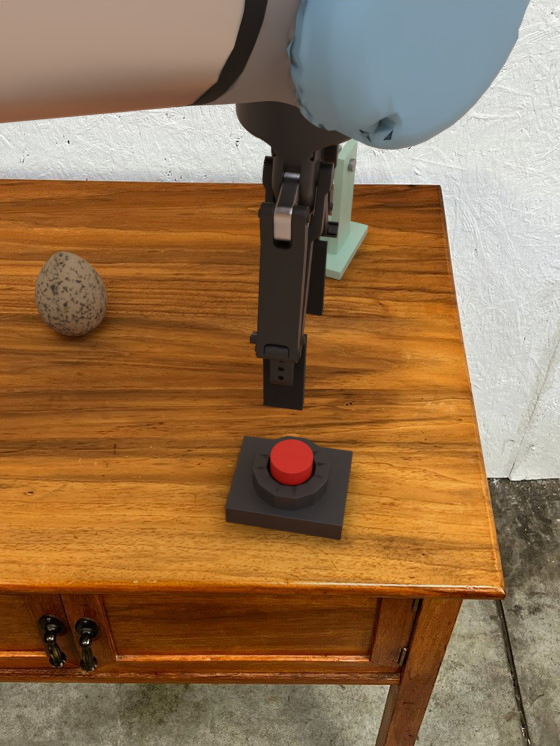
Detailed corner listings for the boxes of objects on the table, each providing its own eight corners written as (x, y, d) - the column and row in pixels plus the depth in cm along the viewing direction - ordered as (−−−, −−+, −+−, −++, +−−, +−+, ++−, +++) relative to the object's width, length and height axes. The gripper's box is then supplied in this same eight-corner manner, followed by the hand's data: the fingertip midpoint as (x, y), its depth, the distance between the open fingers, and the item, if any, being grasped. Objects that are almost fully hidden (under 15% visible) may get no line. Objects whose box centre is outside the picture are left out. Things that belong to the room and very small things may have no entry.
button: (266, 482, 66) (266, 469, 64) (274, 449, 68) (274, 436, 67) (308, 488, 65) (309, 476, 64) (314, 455, 68) (315, 442, 66)
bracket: (339, 280, 90) (348, 176, 80) (276, 262, 92) (277, 159, 82) (367, 233, 96) (379, 131, 86) (307, 217, 98) (312, 116, 88)
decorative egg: (58, 360, 80) (38, 286, 73) (35, 320, 84) (13, 246, 77) (123, 335, 83) (109, 261, 76) (97, 298, 87) (81, 224, 80)
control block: (225, 522, 67) (223, 495, 64) (244, 450, 72) (243, 422, 70) (340, 540, 66) (343, 513, 63) (351, 465, 71) (354, 438, 68)
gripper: (355, 167, 32) (326, 482, 49) (393, -23, 47) (361, 268, 64) (181, 149, 33) (209, 465, 50) (272, -32, 48) (271, 257, 64)
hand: (295, 354), depth 57 cm, fingers open, 9 cm apart
